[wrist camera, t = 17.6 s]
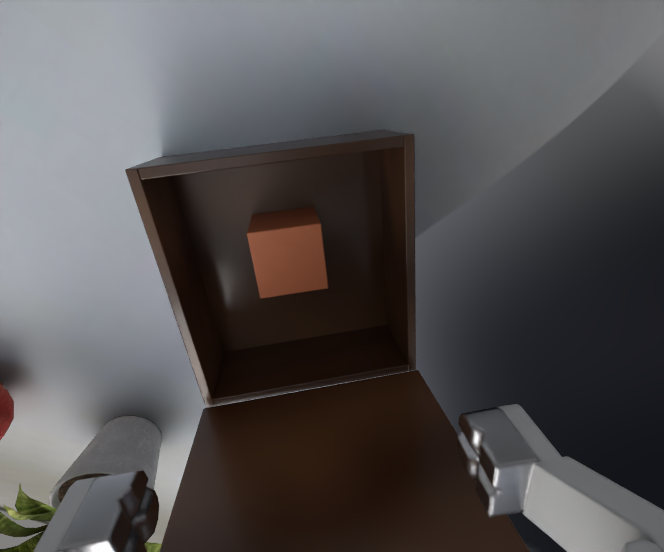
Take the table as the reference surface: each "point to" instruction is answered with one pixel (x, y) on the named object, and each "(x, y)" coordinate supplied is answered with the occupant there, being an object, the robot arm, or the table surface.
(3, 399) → the onion
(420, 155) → the table surface
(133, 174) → the chest
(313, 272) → the block
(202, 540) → the lid
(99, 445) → the house plant
